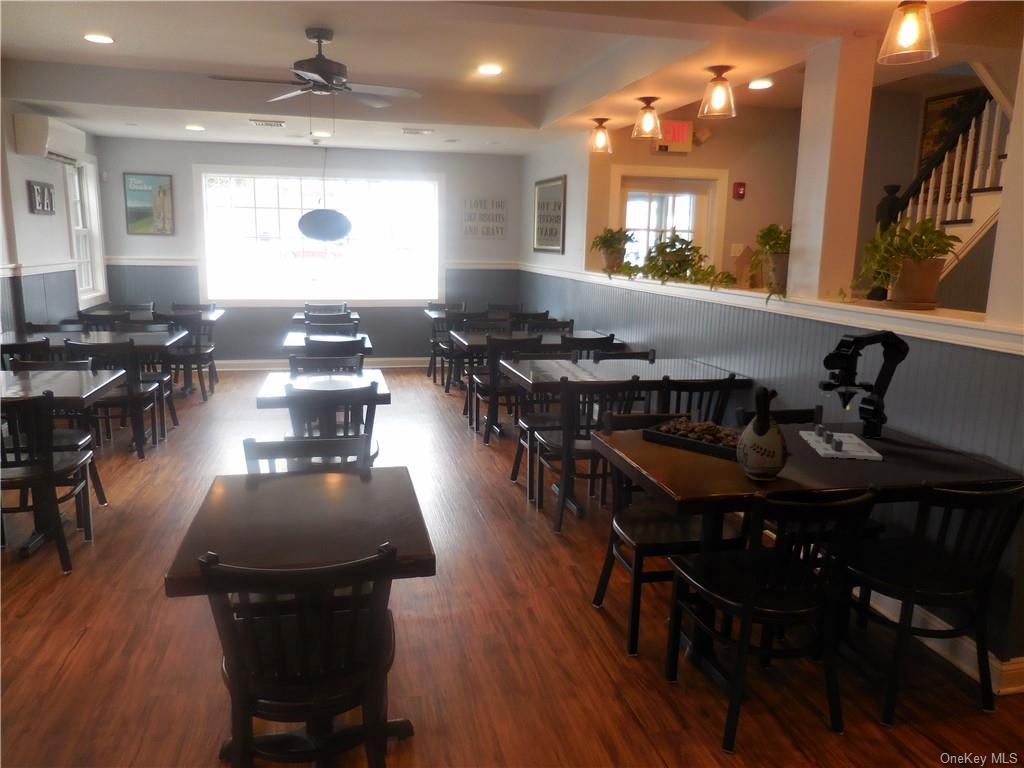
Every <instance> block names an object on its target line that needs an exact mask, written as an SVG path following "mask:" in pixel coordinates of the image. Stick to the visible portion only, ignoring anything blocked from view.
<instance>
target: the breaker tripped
mask: <svg viewBox="0 0 1024 768" xmlns="http://www.w3.org/2000/svg"><path fill="white" fill-rule="evenodd" d="M833 433H834V432H831V431H828V430H825V431H823V439H822V440H823V441H824V442H825V443H832V438H833V437H834V434H833Z"/></svg>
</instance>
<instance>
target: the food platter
mask: <svg viewBox="0 0 1024 768" xmlns="http://www.w3.org/2000/svg"><path fill="white" fill-rule="evenodd" d="M742 433H743V431H738V430H734V429H733V428H731V427H727V428H723V427H721V426H720V425H718V424H715V423H714V422H713V421H712V420H711V421H710V420H709V421H705V422H694V421H690V420H688V418H687V417H686V416H683V417H681V418H672V419H669V420H666V421H662V422H660V423H657V424H655V425H652V426H650V427H647V428H643V429H642V433H641V435H642V436H641V439H642V440H644V439H645V441H648V440H650V441H649V442H652V441H655V442H654V443H657V442H660V443H659V444H661V443H664V444H663V445H665V444H669V445H668V446H670V445H672V446H671V447H674V446H677V447H676V448H678V447H681V448H680V449H682V448H685V449H684V450H687V449H689V450H688V451H691V450H694V451H693V452H695V451H698V452H697V453H700V452H702V453H701V454H704V453H707V454H706V455H708V454H712V455H716V456H715V457H717V456H720V457H719V458H721V457H725V458H729V459H728V460H730V459H734V460H738V458H737V447H738V442H739V439H740V437H741V435H742ZM712 455H711V456H712ZM725 458H724V459H725ZM734 460H733V461H734Z"/></svg>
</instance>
